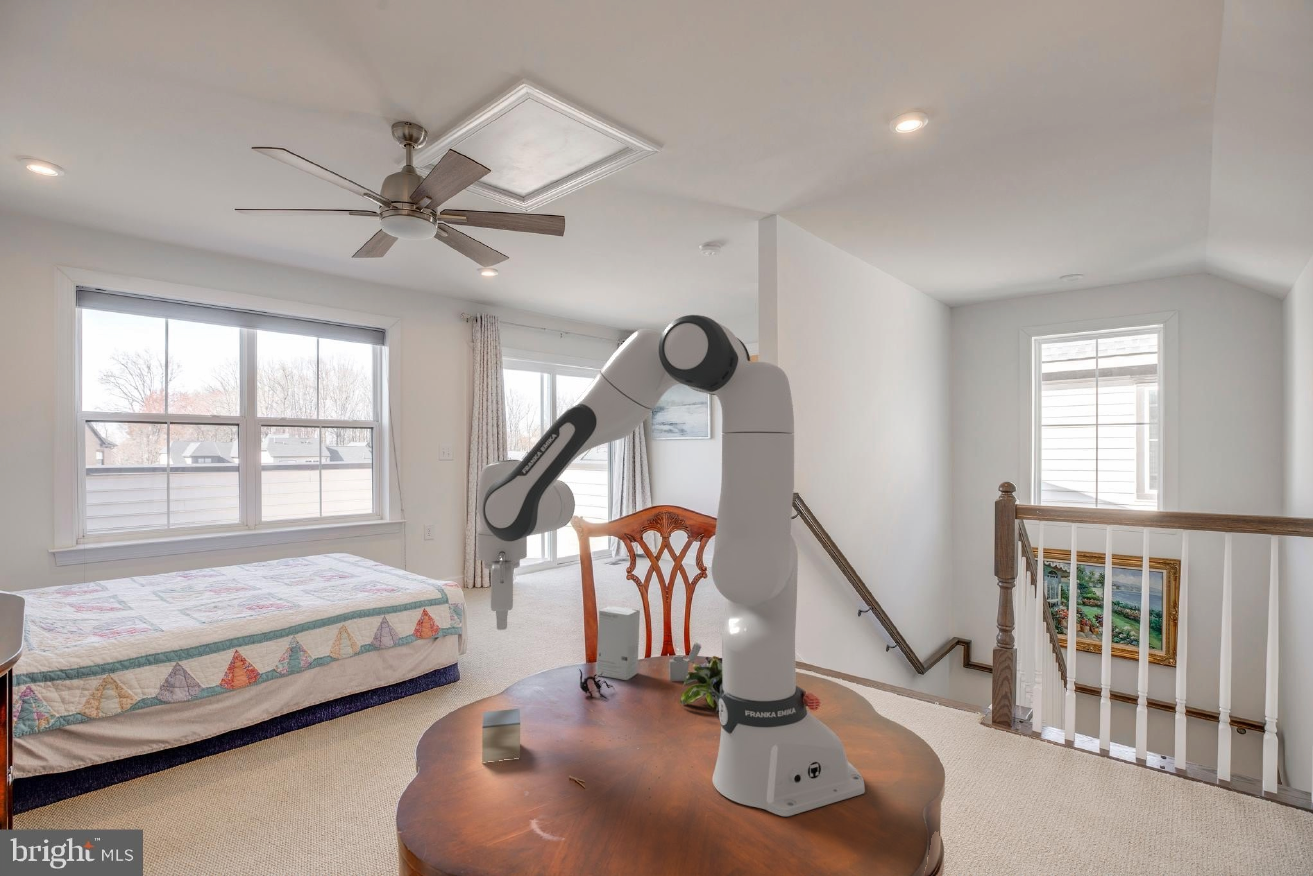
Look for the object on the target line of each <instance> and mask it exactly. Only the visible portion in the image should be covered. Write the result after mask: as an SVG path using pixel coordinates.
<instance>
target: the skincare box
mask: <svg viewBox="0 0 1313 876" xmlns="http://www.w3.org/2000/svg"><path fill="white" fill-rule="evenodd" d="M640 612H641V611H640V610H639V609H636V608H635V609H634V608H629V607H624V606H623V607H622V606H615V605H614V606H611V605H608V606H607V607H604V608H601V609H599V610H598V621H597V622H598V623H597V624H598V626H597V627H598V628H597V646H596V647H597V648H596V668H595V671H596V673H595V674H597V675H596V676H597V677H598V676H599V675H600V674H601V673H602V672H603V671H604V672H603V673H602V675H600V676H599V677H603V678H604V677H605V678H612V679H618V680H623V681H628V680H630V679H631V678H633V677H634V676H636V675H637V674H638V672H639V671H638V670H639V645H640V643H639V642H640V641H639V640H640V620H641V619H640V615H641V613H640Z"/></svg>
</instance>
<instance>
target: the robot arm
mask: <svg viewBox="0 0 1313 876" xmlns="http://www.w3.org/2000/svg"><path fill="white" fill-rule="evenodd" d="M680 384H681V385H684V386H687V387H688V388H690V389H692V390H693V391H696V392H699V393H702V394H709V395H713V396H716V397H717V399H718V400H719V403H720V406H721V407H720V408H721V419H722V423H721V484H720V485H721V487H720V496H719V500H718V507H717V515H716V525H715V526H716V527H715V533H714V534H715V535H714V544H713V545H714V547H713V556H712V560H711V577H712V580H713V583H714V585H715V587H716V589H717V590H718V592H719V593H720V594H721V595H722V596H723V597H724V598H725V599H726V605H725V613H724V614H725V615H724V620H723V621H724V623H723V627H722V633H721V658H722V684H721V685H720V699H719V708H718V716H719V724H720V726H721V728H720V739H719V745H718V746H719V747H718V753H717V758H716V763H715V767H714V771H713V774H712V777H711V778H712V784H713V786H714V788H715V789H716V790H717V791H718V792H719V793H720V794H721V795H722V796H724V797H726V798H727V799H729V800H730V801H732V802H735V803H738V804H740V805H745V806H748V807H755V808H758V809H763V810H766V811H768V812H770V813H772V814H775V815H778V816H781V817H792V816H794V815H796V814H801V813H804V812H807V811H811V810H814V809H817V808H820V807H824V806H827V805H830V804H835V803H837V802H840V801H843V800H848V799H850V798H853V797H856V796H860V795H862V794H863V795H864V794H865V793H866V789H865V780H864V777H862V775H861V773H860V772H859V771H858V769H857V768H855V766H854V765H852V764H851V763H850V762H849V761H848V758H847V753H846V750H845V747H844V744H843V742H842V741H841V739H840V738H839V737H838V735H837V734H836V733H835V732H834V731H833V730H832V729H830V728H829V727H828V726H827V725H826V724H825V723H823V722H822V721H820V720H819V719H818V718H817V717H815V715H813V714H812V713H811V712H809V711H808V710H807V707H808V709H809V710H810V711H814V712H815V711H817V710H818V709H819V708H820V707H821V705H820V704H821V700H820V699H819V697H818V696H816V695H815V694H814V693H811V692H806V691H805V690H804V689H803V688H801V687H799V686H798V685H796V684H797V683H796V682H797V681H796V679H797V676H796V669H797V668H796V625H797V608H798V607H797V606H798V605H797V601H798V599H797V598H798V574H799V573H798V570H799V568H798V567H799V564H798V562H799V560H798V559H799V556H798V555H799V552H798V547H797V545H796V541H795V540H794V538H793V535H791V528H792V514H793V501H794V499H793V498H794V489H795V417H794V405H793V398H792V397H793V396H792V393H791V388H790V387H791V386H790V382H789V378H788V375H787V373H785V371H784V370H783V369H782V368H781V367H779V366H777V365H775V364H773V363H771V362H765V361H751V357H750V354H749V350H748V349H747V347H746V344H744V342H743V341H742V340H740V339H739V338H738V337H736V335H735V334H734V333H733V332H732V331H731V329H729V328H728V327H726V326H725V325H722V324H721V323H719V322H716V321H715V320H714V319H712V318H710V317H708V316H705V315H700V314H687V315H684V316H680V317H679V318H676V319H674V320H673V321H672V322H671V323H669V324H668V326H666V328H665V329H664V330H663V332H662V331H660V330H656V329H653V328H648V327H647V328H645V327H644V328H640V329H637V330H636V331H634V332H633V333H632V334H630V335H629V337H628V338H626V340H625V341H624V342H623V343H622V344H620V345H619V347H618V348H617V349H616V350H615V351H614V352H613V353H612V354H611V355H610V357H609V359H608V360H607V361H606V362H605V363H604V365H603V366H602V367H601V369H600V370H599V371H598V373H597V374H596V376H594V378H593V380H592V381H591V382H590V384H589V385H588V386H587V387H586V388H585V390H584V391H583V392H582V393H581V394H580V396H579V397H578V398H577V399H576V400H575V401H574V402H573V403H572V404H571V405H570V406H569V408H567V409H566V410H565V411H564V412H563V413H562V414H561V415H560V416H559V417H558V418H557V419H556V420H555V422H553V423H552V425H551V426H550V427H549V428H548V429H547V430H546V432H545V433H543V435H542V436H541V437H540V439H539V440H537V442H536V443H535V444H534V446H533V447H532V448H531V449H530V450H529V452H528V453H527V454H526V455H525V457H524V458H522V460H519V459H505V460H497V461H493V462H489V463H487V464H486V465H485V466H483V468H482V469H481V471H480V475H479V477H478V478H479V479H478V487H477V514H478V516H479V522H478V523H479V524H478V528H477V535H476V537H477V542H476V543H477V544H476V545H477V546H476V547H477V548H476V549H477V550H476V552H477V553H476V555H477V556H476V557H477V558H476V559H477V560H479V561H482V562H483V563H484V564H483V567H484V569H485V570H490V609H491V611H492V612H495V617H496V618H495V619H496V630H500V631H503V630H507V628H508V615H509V611H511V610H513V607H514V573H515V569H517V568H519V567H520V566H521V560H523V559H527V557H528V555H527V554H528V551H527V550H528V549H527V548H528V543H527V542H528V537H530V536H533V535H535V536H536V535H541V534H544V533H548V532H553V531H556V530H560V529H562V528H564V527H566V526H567V525H568V524H569V523H570V522H571V520H572V518H573V517H574V513H575V507H576V502H575V501H576V500H575V496H574V494H573V491H572V490H571V488H570V486H569V485H568V484H567V483H565V482H564V481H562V480H560V479H559V478H560V477H561V476H562V474H563V473H564V472H565V471H566V470H567V469H568V467H569V466H570V465H571V464H572V462H574V461H575V460H576V459H577V458H579V456H581V455H582V454H584V453H585V452H587V451H589V450H591V449H594V448H596V447H599V446H601V445H602V446H603V445H605V444H607V443H612V442H614V441H618V440H621V439H624V438H626V437H628V436H630V435H631V434H632V433H633V432H634V431H635V430H636V429H637V428H638V427H639V426H641V425H642V423H643V422H644V421H645V420H646V419H647V417H648V416H649V415H650V413H652V411H653V410H654V408H655V407H656V405H657V404H658V403H659V401H660V400H661V398H662V397H663V396H664V395H665V393H667V392H668V390H669V389H670V388H672V387H674V386H677V385H680Z"/></svg>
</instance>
